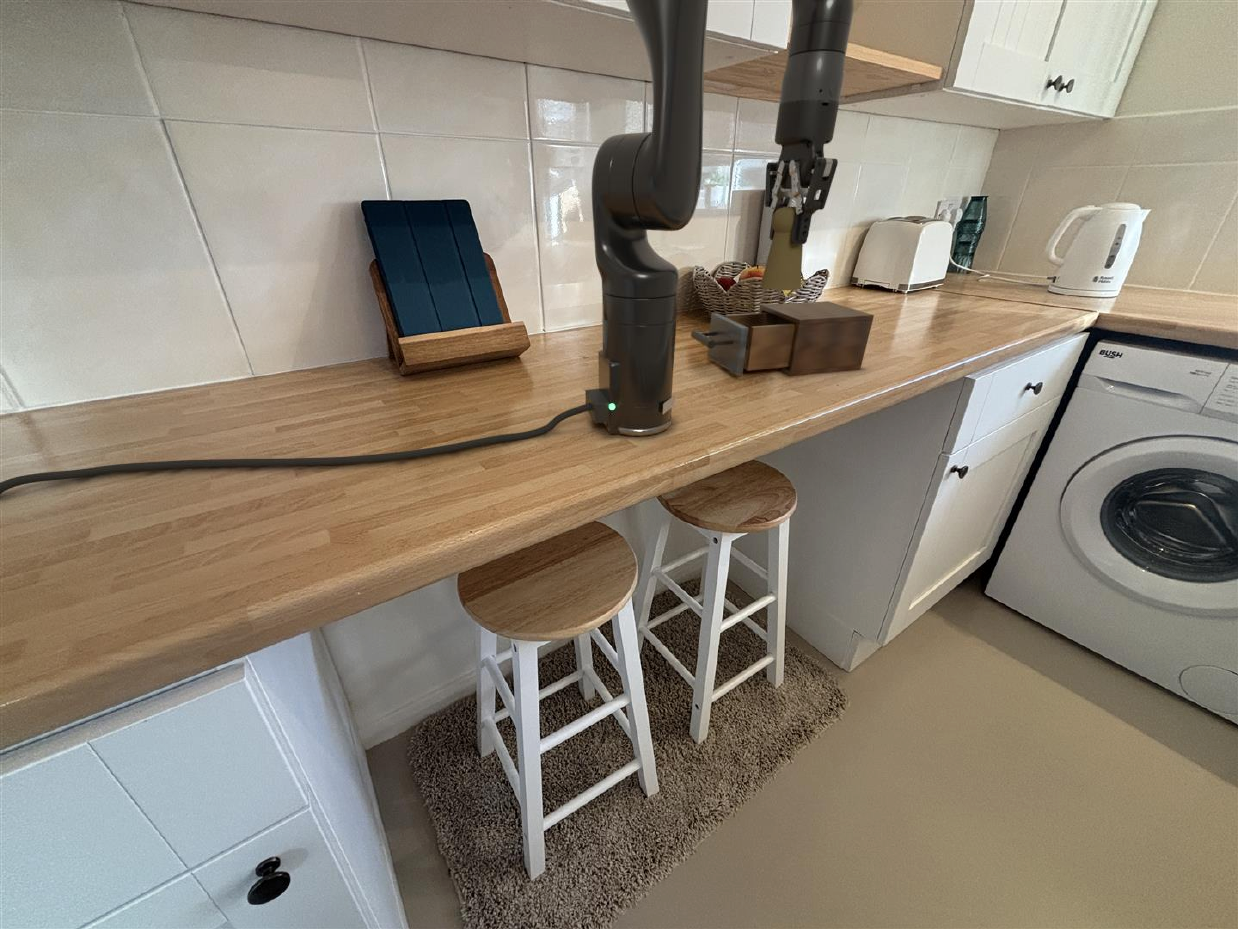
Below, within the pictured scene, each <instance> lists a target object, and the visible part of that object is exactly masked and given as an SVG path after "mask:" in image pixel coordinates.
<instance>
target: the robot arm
mask: <svg viewBox="0 0 1238 929" xmlns="http://www.w3.org/2000/svg"><path fill="white" fill-rule="evenodd" d="M625 3H626V5H627V7H628V10H629V12H630V15H631V18H632V20H633V21H634V24H635V27H636V28H637V31H638V33H639V36H640V38H641V40H642V43H643V46H644V49H645V51H646V55H647V59H648V63H649V67H650V68H649V69H650V74H651V84H652V86H651V87H652V122H651V123H652V126H651V131H645V132H644V131H643V132H631V133H621V134H615V135H612V136H610V137H608V138H607V139H605V140H604V141H603V142H602V143H601V145H600V147H599V148H598V150H597V152H596V155H595V158H594V161H593V165H592V166H593V167H592V174H591V209H592V223H593V239H594V241H593V242H594V255H595V264H596V267H597V270H598V273H599V276H600V279H601V309H602V312H601V318H602V319H601V321H602V322H601V325H602V327H601V328H602V330H601V332H602V349H600V350H599V351H598V356H597V358H598V388H594V389H593V388H592V389H585V403H584V404H582V405H579V406H576V407H572V408H569V409H567V410H564V411H563V412H561V413H559V414H557V415H555V416H554V417H553V418H552V419H551V420H550V421H549V422H548V423H546V424H544V425H543V426H541V427H538V428H534V429H531V430H528V431H522V432H521V431H520V432H515V433H505V434H498V435H492V436H491V435H490V436H487V437H481V438H476V439H471V440H466V441H460V442H457V443H449V444H445V445H439V446H432V447H426V448H425V447H424V448H419V449H411V450H405V451H395V452H386V453H376V454H375V453H374V454H364V455H363V454H362V455H353V456H352V455H351V456H349V455H348V456H328V457H326V456H325V457H295V458H293V457H291V458H224V459H223V458H219V459H218V458H217V459H216V458H215V459H213V458H211V459H210V458H209V459H182V460H179V459H178V460H163V461H162V460H161V461H147V462H128V463H118V464H108V465H102V466H101V465H100V466H94V467H87V468H81V469H71V470H60V471H58V470H57V471H48V472H47V471H46V472H38V473H30V474H24V475H20V476H16V477H15V476H14V477H12V478H9V479H6V480H3V481H0V495H1V494H3V493H4V492H7V491H8V490H11V489H13V488H16V487H19V486H22V485H28V484H33V483H41V482H51V481H62V480H72V479H80V478H88V477H95V476H102V475H109V474H115V473H116V474H117V473H127V472H128V473H129V472H140V471H141V472H143V471H160V470H175V469H176V470H179V469H204V468H205V469H206V468H207V469H208V468H209V469H210V468H261V467H262V468H265V467H266V468H269V467H272V468H273V467H274V468H275V467H276V468H279V467H281V468H282V467H283V468H285V467H316V466H317V467H318V466H341V465H343V466H344V465H357V464H371V463H372V464H373V463H381V462H382V463H383V462H391V461H401V460H408V459H409V460H410V459H416V458H424V457H430V456H435V455H442V454H447V453H454V452H458V451H463V450H468V449H472V448H477V447H482V446H486V445H493V444H497V443H505V442H513V441H521V440H526V439H532V438H536V437H539V436H541V435H544V434H546V433H549V432H550V431H552V430H553V429H555V427H556V426H558V424H560V423H561V422H563V421H564V420H566V419H568V418H571V417H573V416H576V415H580V414H582V413H586V412H588V414H589V416H590V417H591V419H592V421H593V422H594V424H602V425H603V426H604V427H605V429H606V430H607V432H608V433H609V435H618V434H619V435H624V436H631V437H634V436H635V437H636V436H637V437H641V436H643V437H644V436H645V437H646V436H651V435H657V434H660V433H662V432H664V431H666V430H668V429H669V428H670V426H671V424H672V408H673V407H674V406H675V402H676V394H673V383H674V370H675V368H674V366H675V352H676V351H675V349H676V335H677V333H676V332H677V317H678V303H679V286H680V272H679V269H678V268H677V267H676V265H674V264H673V263H671V262H670V261H668V260H666V259H665V258H663V257H662V256H660V255H659V254H658V253H657V252H656V251H655V249H653V247H652V245H651V244H650V242H649V238H648V231H656V232H657V231H659V232H677V231H680V230H682V229H684V228H685V227H686V226H687V225H688V224H689V223H690V221H691V220H692V218H693V216H694V215H695V211H696V209H697V207H698V202H699V199H700V194H701V193H700V192H701V186H702V177H703V156H704V154H703V153H704V92H705V90H704V88H705V54H706V52H705V51H706V40H707V27H708V26H707V23H708V13H709V12H708V10H709V9H708V8H709V0H625ZM854 7H855V2H854V0H791V10H792V22H791V30H790V37H789V44H788V51H787V59H786V65H785V69H784V72H783V78H782V81H781V88H780V89H781V90H780V97H779V104H778V112H777V118H776V126H775V134H774V143H775V144H776V145H778V146H781V151H780V154H779V157H778V160H777V161H775V162H773V161H772V162H771V161H770V162H769V161H768V162H767V164H766V167H765V190H764V191H765V192H764V206H765V207H766V208H769V210H770V212H771V213H772V215H771V220H772V219H773V216H774V213H775V212H776V210H778V209H779V208H783V207H791V204H792V201H793V199H794V200H795V207H796V213H797V214H798V215H795V216H794V223H793V229H792V235H791V243H792V244H803V245H805V244H807V242H808V238H809V234H810V228H811V222H812V216H813V215H814V214H815V213H816V212H817V211H823V209H824V208H825V206H826V204H827V201H828V197H829V193H830V191H831V187H832V183H833V180H834V177H835V174H836V170H837V166H838V163H839V161H838V159H837V158H832V157H825V153H824V151H825V150H824V146H825V145H828V144H830V143H831V142H832V141H833V140H834V134H835V129H836V122H837V119H838V118H837V117H838V111H839V105H840V101H841V94H842V90H843V85H844V84H843V83H844V77H845V66H846V65H845V64H846V54H847V49H848V44H849V38H850V33H851V29H852V28H851V27H852V23H853V18H854V9H855V8H854ZM818 194H819V195H818ZM817 195H818V198H817ZM804 198H805V199H804ZM769 230H770V231H769V239H770V241H772V240H773V236H774V232H775V231H774V229H773V227H772V221H771V222H770V229H769Z"/></svg>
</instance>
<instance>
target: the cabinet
mask: <svg viewBox="0 0 1238 929" xmlns="http://www.w3.org/2000/svg"><path fill="white" fill-rule="evenodd" d="M764 312H768V313H771V314H774V315H776V316H779V317H781V318H784V319H786V320H789V321H791V322H794V323H796V324H797V325H796V330H795V336H794V341H793V347H792V352H791V358H790V364H789V367H782V368H776V369H777V370H779V371H780V372H782V373H784V374H785V375H787V376H789V377H795V376H803V375H814V374H825V373H836V372H847V371H855V370H861V368H862V365H863V361H864V357H865V352H866V349H867V345H868V341H869V337H870V333H871V329H872V325H873V321H874V317H875V315H874V314H871V313H867V312H865V311H862V310H858V309H855V308H852V307H848V306H845V305H841V304H838V303H835V302H832V301H829V300H827V301H825V300H824V301H808V302H807V301H806V302H792V303H791V302H790V303H769V304H761V305H760V308H759V313H764Z"/></svg>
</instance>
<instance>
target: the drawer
mask: <svg viewBox="0 0 1238 929" xmlns="http://www.w3.org/2000/svg"><path fill="white" fill-rule="evenodd" d="M710 315H711V316H710V324H709V331H702V332H700V331H698V330H696V329H695V330H692V332H691V333H690V336H691V338H692V339H694V340H695V341H696V342H698V343H700V344H701V345H703V346H705V347H706V348H707V357H709V358H710V359H711V360H713V361H714V362H716V363H718V364H720V365H721V366H722V367H723V368H725V369H727V370H728V371H730V372H731V373H733V374H734V375H737V376H738V375H743V373H744V369H745V371H749V372H750V371H758V370H769V369H771V370H772V369H777V368H782V367H789V364H790V358H791V352H792V347H793V341H794V336H795V330H796V325H797V324H796V323H794V322H791V321H789V320H786V319H784V318H781V317H779V316H776V315H774V314H771V313H768V312H764V313H760V312H750V313H749V312H748V313H731V314H725V316H724V315H722V314H720V313H717V312H714V313H711V314H710Z"/></svg>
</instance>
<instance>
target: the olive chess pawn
mask: <svg viewBox="0 0 1238 929" xmlns="http://www.w3.org/2000/svg"><path fill="white" fill-rule="evenodd" d="M795 215H798V214H797V213H796V206H790V207H783V208H779V209H778V210H776V212H775V213H774V216H773V219H772V218H771V222H772V227H773V229H774V231H775V232H774V236H773V240H771V244H770V248H769V251H768V256H767V259H766V263H765V267H764V271H763V275H762V278H761V282H760V285H759V287H760V288H762V289H766V290H772V291H773V290H774V291H797V290H800V289H801V287H802V270H803V269H802V268H803V264H802V263H803V246H804V244H792V243H791V235H792V229H793V223H794V216H795Z"/></svg>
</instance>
